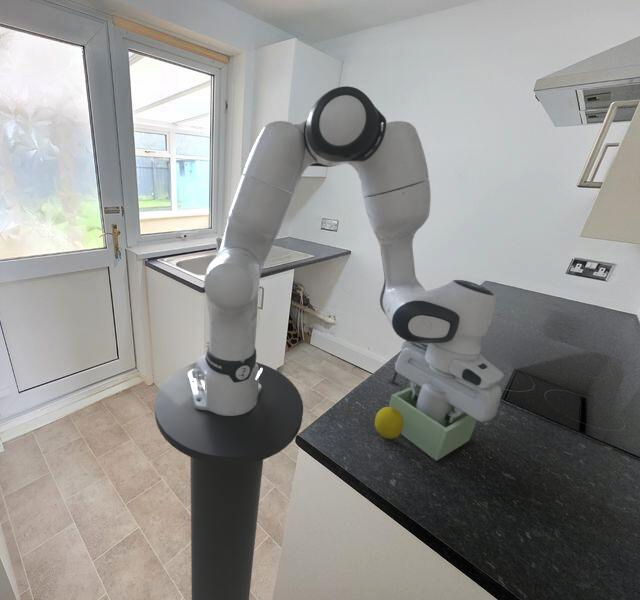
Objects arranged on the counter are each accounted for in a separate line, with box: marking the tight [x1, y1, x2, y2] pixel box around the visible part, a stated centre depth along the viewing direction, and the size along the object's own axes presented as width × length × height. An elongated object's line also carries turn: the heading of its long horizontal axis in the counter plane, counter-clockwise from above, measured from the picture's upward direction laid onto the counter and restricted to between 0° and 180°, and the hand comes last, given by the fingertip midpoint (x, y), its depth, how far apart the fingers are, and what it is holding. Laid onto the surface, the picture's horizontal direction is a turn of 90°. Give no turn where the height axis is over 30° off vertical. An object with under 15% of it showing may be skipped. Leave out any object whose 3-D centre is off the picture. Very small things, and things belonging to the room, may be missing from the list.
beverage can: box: [415, 382, 452, 427], centre depth 70 cm, size 6×6×12 cm
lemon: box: [374, 406, 403, 440], centre depth 68 cm, size 6×6×8 cm
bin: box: [388, 386, 478, 462], centre depth 71 cm, size 13×13×8 cm
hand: (432, 409), depth 70 cm, fingers closed on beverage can, 6 cm apart
